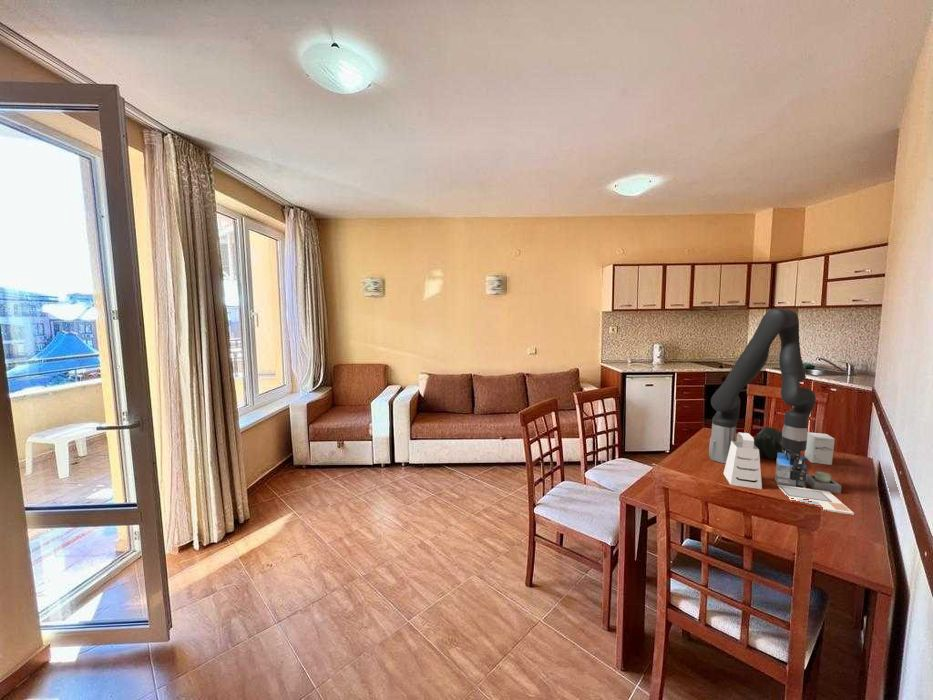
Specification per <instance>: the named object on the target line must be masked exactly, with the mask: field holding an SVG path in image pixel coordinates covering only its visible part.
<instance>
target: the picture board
mask: <svg viewBox="0 0 933 700" xmlns="http://www.w3.org/2000/svg"><path fill="white" fill-rule="evenodd" d="M777 487H778V488H779V489H780V490H781V491H782V493H784V495H785V496H786V495H787V496H788V497H789V498H788V497H787V496H786V497H787V498H788V499H789V500H790V501H791V500H796V501H800V502H805V503H809V504H815V505H821V506H822V507H823V510H822V511H824V510H825V512H832V513H837V514H838V513H839V514H845V515H852V516H854V515H855V512H854V511H852V510H851V509H850V508H848V506H847V505H845V504H844V503H843V502H842V501H841V500H840V499H838V498H837V497H836V496H835V495H833V494H832V492H829V491H822V490H815V489H813V488H807V487H805V488H800V487H793V486H787V485H781V484H777ZM791 498H794V499H791ZM803 499H809V500H803ZM808 501H812V502H808ZM826 510H827V511H826Z"/></svg>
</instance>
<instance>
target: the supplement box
mask: <svg viewBox="0 0 933 700" xmlns="http://www.w3.org/2000/svg"><path fill="white" fill-rule="evenodd" d="M835 441H836V440H835V438H834V437H832V436H831V435H829V434H827V433H818V432H810V431H808V437H807V446H806V450H805V451H804V456H805V460H806V459H807V460H808V462H810V463H811V464H812V463H813V464H821V465H828V466H829V465H830V466H831V465H833V457H834V449H835V448H834V447H835Z"/></svg>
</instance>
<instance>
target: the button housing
mask: <svg viewBox="0 0 933 700" xmlns="http://www.w3.org/2000/svg"><path fill="white" fill-rule="evenodd" d="M806 485H808V486H809V487H810V488H811V489H815V490H822V491H829V492H830V493H835V494H841V493H842V485H841V484H840V483H838V482H837V481H835V479H833V478H832V477H831V480H830V483H823V482H817V481H816V480H815V474H808V473H807V477H806Z"/></svg>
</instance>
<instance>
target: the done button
mask: <svg viewBox="0 0 933 700" xmlns="http://www.w3.org/2000/svg"><path fill="white" fill-rule="evenodd" d="M814 475H815V480H816V481H817V482H823V483H830V480H831V478H832V475H831V474H830V473H828V472H825V471H821V470H820V471H815V474H814Z"/></svg>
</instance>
